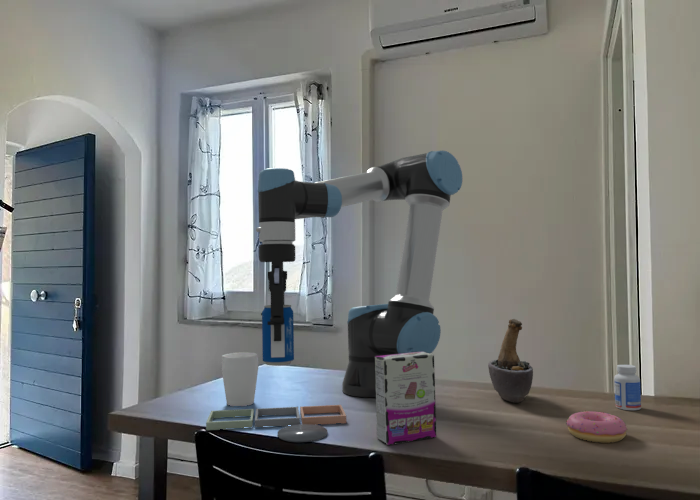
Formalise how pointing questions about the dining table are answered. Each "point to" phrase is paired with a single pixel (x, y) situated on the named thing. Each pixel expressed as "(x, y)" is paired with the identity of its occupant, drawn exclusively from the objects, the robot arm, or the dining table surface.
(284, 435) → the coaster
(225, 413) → the sage corral
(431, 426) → the candy bar box
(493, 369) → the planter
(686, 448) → the dining table surface
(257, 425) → the slate-grey corral
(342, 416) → the terracotta corral
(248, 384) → the grey tapered cylinder
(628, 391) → the pill bottle
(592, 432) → the doughnut
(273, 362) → the beverage can
